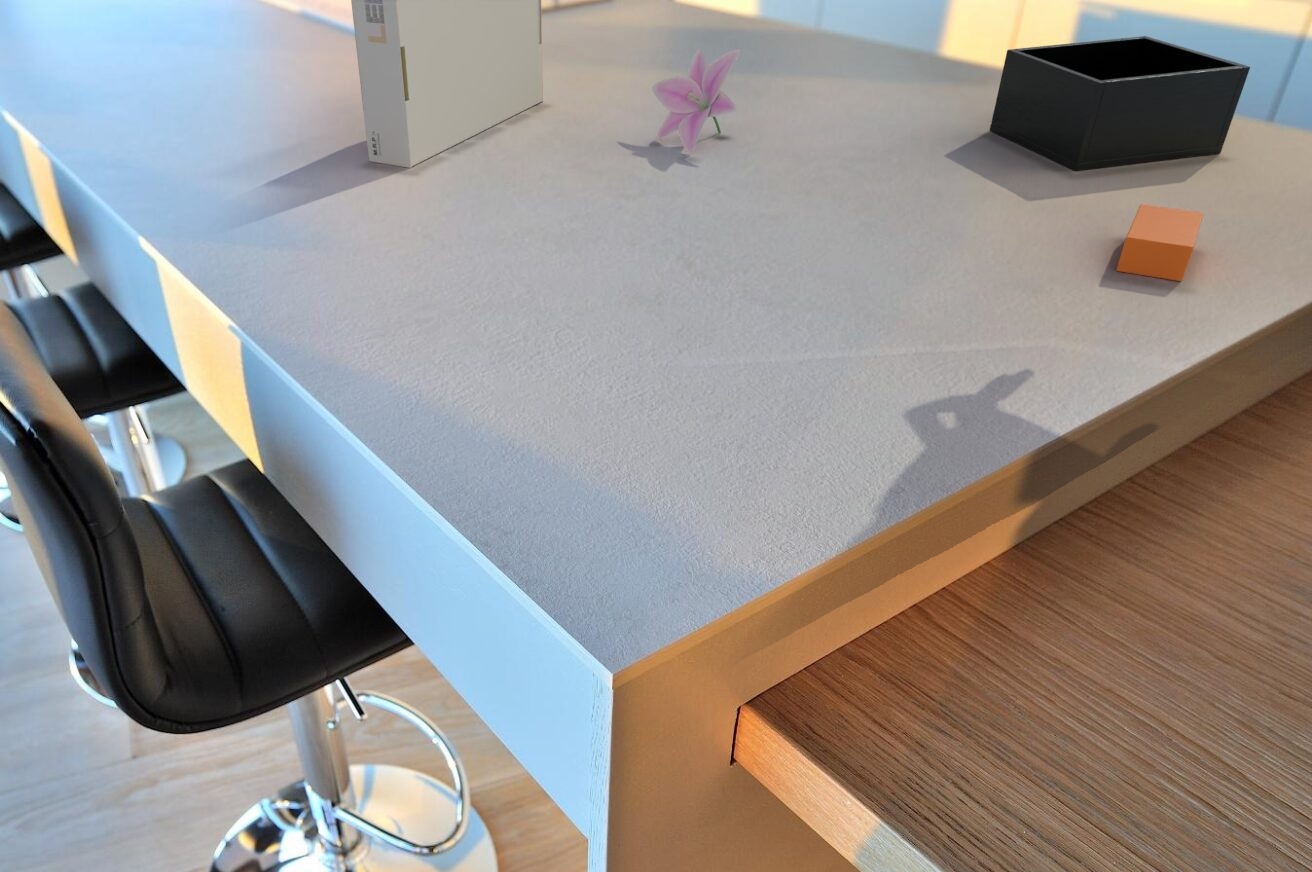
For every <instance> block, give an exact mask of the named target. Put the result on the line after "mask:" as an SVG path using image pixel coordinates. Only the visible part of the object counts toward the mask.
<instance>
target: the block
mask: <svg viewBox="0 0 1312 872" xmlns="http://www.w3.org/2000/svg"><path fill="white" fill-rule="evenodd" d="M1203 217H1204V212H1201V211H1194V210H1193V211H1192V210H1186V209H1179V208H1172V207H1165V206H1164V207H1163V206H1157V205H1150V204H1143V203H1141V204H1140V205H1139V206H1138V210H1137V211H1136V214H1135V216H1134V218H1133V220H1132V223H1131V225H1130V228H1129V230H1128V232H1127V235H1126V237H1125V240H1124V243H1123V246H1122V250H1121V253H1120V255H1119V256H1120V257H1119V259H1118V263H1117V265H1116V270H1115V271H1116V272H1121V273H1127V274H1133V275H1139V276H1146V277H1152V278H1157V279H1164V280H1169V281H1175V282H1182V281H1183V279H1184V276H1185V274H1186V271H1187V267H1188V264H1189V262H1190V259H1191V256H1192V253H1193V250H1194V247H1195V244H1196V240H1197V237H1198V234H1199V230H1200V227H1201V224H1202V221H1203Z"/></svg>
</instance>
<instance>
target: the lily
mask: <svg viewBox="0 0 1312 872" xmlns="http://www.w3.org/2000/svg"><path fill="white" fill-rule="evenodd" d="M740 54H741V49H739V48H737V49H732V50H731V51H729V52H726V53H724V54H722V55H721V56H719V57H717V58H715V59H714V60H712V61H711V62H710V63H709V64H708V61H707V60H706V56H705V54H704V52H703V49H702V48H698V49H697V50H696V52H695V54H694V56H693V58H692V60H691V62H690V64H689V67H688V70H687V72H686V75H685V76H684V75H677V76H672V77H669V78H665V79H663V80H660V81H658V82H656V83H654V84H653V86H652V87H651V88H652V89H651V91H652V93H653V95H654V96H655V98H656V99H657V100H658V101H659V103H660V104H661V105H662V106H663V107H664V108H665V109H666V110H668V111H669V113H668V114H667V116H665V119H664V120H663V122H662V124H661V125H660V128H659V130H658V132H657V135H656V137H655V140H656V141H660V140H662V139H664V138H665V137H668V136H669V135H671V134H673V133H675V132H676V131H677V132H678V135H679V138H680V142H681V144H682V146H683V149H684V150H685V152H686V153H687V154H688V155H691V154H692V153H693V152H694V150H695V148H696V145H697V143H698V140H699V137H700V135H701V132H702V129H703V128H704V125H705V123H706V121H707V118H712V119H713V121H714V124H715V127H716V130H717V133H718V134H721V133H722V131H721V128H720V125H719V121H718V120H717V117H719V116H723V115H727V114H732V113H734V112H735V111H737V106H736V104H735V103H734V102H733V100H732V98H730V97H729V95H727V93H725V92H724V91H723V90H722V87H723V86H724V83H725V81H726V79H727V78H728V75H729V73H730V72H731V71H732V69H733V67H734V65H735V63H736V62H737V60H738V58H739V56H740Z"/></svg>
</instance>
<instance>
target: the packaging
mask: <svg viewBox="0 0 1312 872" xmlns="http://www.w3.org/2000/svg"><path fill="white" fill-rule="evenodd" d="M350 2H351V11H352V20H353V28H354V38H355V39H354V40H355V45H356V46H355V47H356V54H357V64H358V65H357V66H358V73H359V75H358V76H359V84H360V93H361V102H362V111H363V119H364V127H365V129H364V130H365V137H366V146H367V155H368V162H371V163H377V164H383V165H390V166H397V167H402V168H407V169H408V168H409V169H411V168H413V167H414V166H416V165H418V164H421V162H424V161H426V160H427V159H429V158H432V157H434V156H436V155H438V154H440V153H442V152H444V151H446V150H448V149H450V148H452V147H454V146H456V145H459V143H462V142H464V141H466V140H468V139H470V138H472V137H473V136H476V135H477V134H480V133H481V132H484V131H486V130H488V129H490V128H492V127H494V126H496V125H498V124H500V123H501V122H504V121H506V120H508V119H510V118H511V117H514V116H517V115H518V114H520V113H522V112H524V111H525V110H528V109H530V108H532V107H534V106H536V105H538V104H540V103H542V102H544V71H543V70H544V69H543V66H544V65H543V63H544V62H543V27H542V26H543V23H542V22H543V21H542V20H543V18H542V14H543V13H542V0H350Z"/></svg>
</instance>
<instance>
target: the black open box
mask: <svg viewBox="0 0 1312 872" xmlns="http://www.w3.org/2000/svg"><path fill="white" fill-rule="evenodd" d="M1250 69H1251V66H1249V65H1247V64H1244V63H1243V64H1242V63H1239V62H1235V61H1232V60H1229V59H1225V58H1222V57H1218V56H1215V55H1212V54H1209V53H1204V52H1201V51H1198V50H1194V49H1191V48H1188V47H1185V46H1180V45H1177V44H1173V43H1170V42H1168V41H1164V40H1160V39H1157V38H1154V37H1150V36H1146V35H1142V36H1132V37H1122V38H1111V39H1101V40H1092V41H1091V40H1090V41H1084V42H1083V41H1082V42H1081V41H1080V42H1070V43H1062V44H1051V45H1041V46H1031V47H1021V48H1020V47H1019V48H1012V49H1007V50H1006V55H1005V59H1004V63H1003V68H1002V73H1001V77H1000V83H999V86H998V91H997V95H996V100H995V103H994V104H995V106H994V109H993V114H992V117H991V123H990V127H989V131H990V132H992V133H994V134H996V135H998V136H999V137H1003V138H1004V139H1006V140H1008V141H1011V142H1013V143H1015V144H1017V145H1020V146H1021V147H1023V148H1025V149H1028V150H1030V151H1032V152H1034V153H1036V154H1038V155H1040V156H1042V157H1045V158H1047V159H1049V160H1051V161H1053V162H1055V163H1057V164H1059V165H1062V166H1064V167H1066V168H1068V169H1070V170H1072V171H1075V172H1078V171H1086V170H1095V169H1102V168H1109V167H1120V166H1121V167H1122V166H1128V165H1136V164H1143V163H1144V164H1145V163H1153V162H1160V161H1161V162H1162V161H1171V160H1177V159H1178V160H1179V159H1185V158H1194V157H1203V156H1210V155H1211V156H1212V155H1221V153H1222V150H1223V147H1224V144H1225V141H1226V138H1227V136H1228V134H1229V130H1230V127H1231V125H1232V121H1233V119H1234V116H1235V113H1236V110H1237V107H1238V104H1239V101H1240V99H1241V95H1242V92H1243V90H1244V87H1245V83H1246V81H1247V77H1248V74H1249V72H1250Z"/></svg>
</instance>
